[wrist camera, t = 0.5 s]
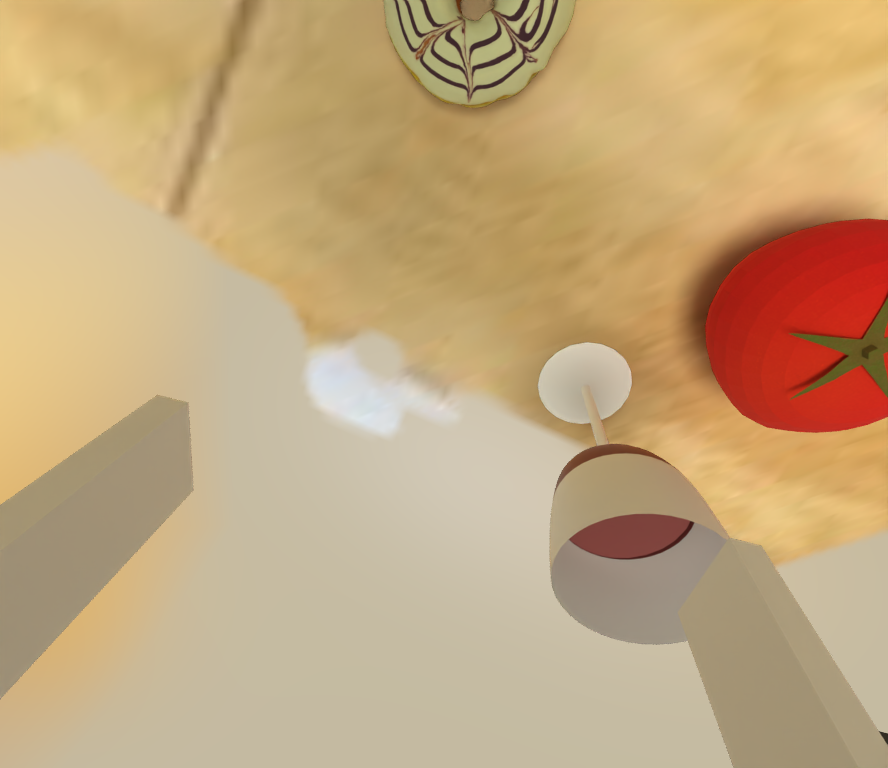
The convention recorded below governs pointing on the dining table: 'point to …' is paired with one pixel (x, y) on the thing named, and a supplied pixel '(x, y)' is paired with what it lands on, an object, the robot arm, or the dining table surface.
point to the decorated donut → (476, 45)
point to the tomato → (806, 329)
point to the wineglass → (621, 513)
